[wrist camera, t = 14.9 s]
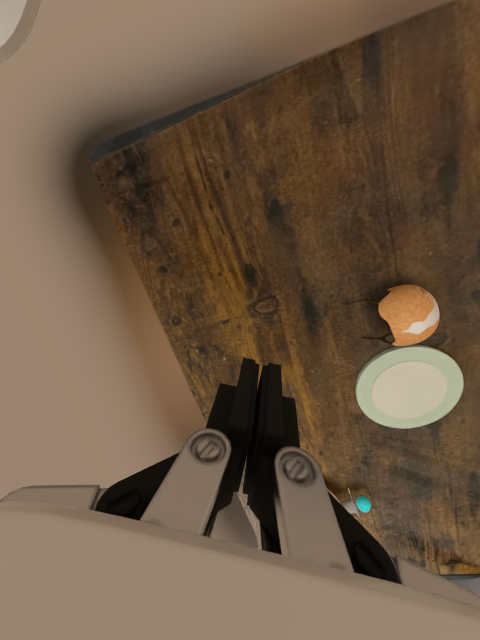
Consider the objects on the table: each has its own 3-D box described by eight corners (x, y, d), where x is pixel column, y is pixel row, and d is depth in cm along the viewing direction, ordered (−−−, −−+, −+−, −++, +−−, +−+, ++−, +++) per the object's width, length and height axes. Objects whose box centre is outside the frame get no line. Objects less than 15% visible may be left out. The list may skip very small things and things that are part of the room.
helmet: (374, 324, 33) (452, 316, 27) (354, 357, 29) (440, 357, 23) (356, 285, 32) (435, 266, 25) (334, 314, 28) (420, 301, 22)
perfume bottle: (276, 490, 37) (359, 469, 36) (285, 490, 44) (356, 472, 42) (293, 563, 33) (389, 542, 31) (301, 551, 39) (381, 533, 38)
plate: (345, 358, 32) (346, 361, 32) (454, 332, 29) (459, 335, 29) (365, 431, 36) (366, 436, 35) (464, 415, 33) (468, 419, 32)
